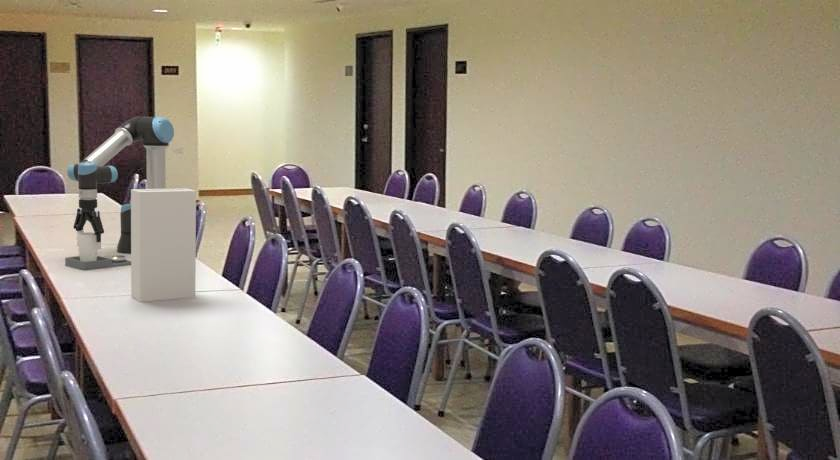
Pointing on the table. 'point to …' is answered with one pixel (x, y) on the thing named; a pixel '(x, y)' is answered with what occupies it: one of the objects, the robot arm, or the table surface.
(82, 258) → the foam cup
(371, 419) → the table surface
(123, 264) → the dark gray tray
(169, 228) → the storage box
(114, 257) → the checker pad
